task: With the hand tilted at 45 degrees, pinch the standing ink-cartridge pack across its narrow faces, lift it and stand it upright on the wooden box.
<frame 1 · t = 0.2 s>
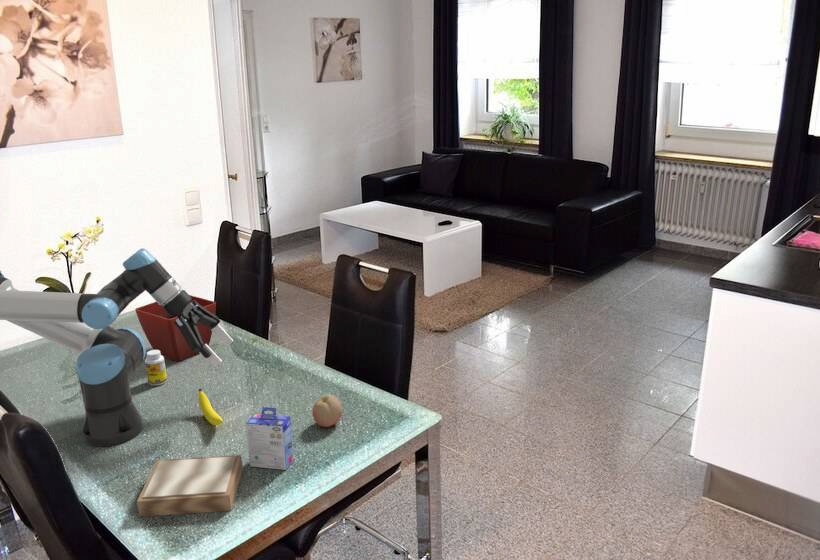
hand: (224, 353, 196), 16 cm above the table, tool tilted 35°, fingers open, 13 cm apart
fruit: (328, 424, 188), on the table
supplement bottle: (158, 382, 216), on the table
banana: (212, 422, 191), on the table
ink cartridge box: (272, 463, 172), on the table
plant pot: (182, 351, 238), on the table
wooden box: (193, 491, 161), on the table
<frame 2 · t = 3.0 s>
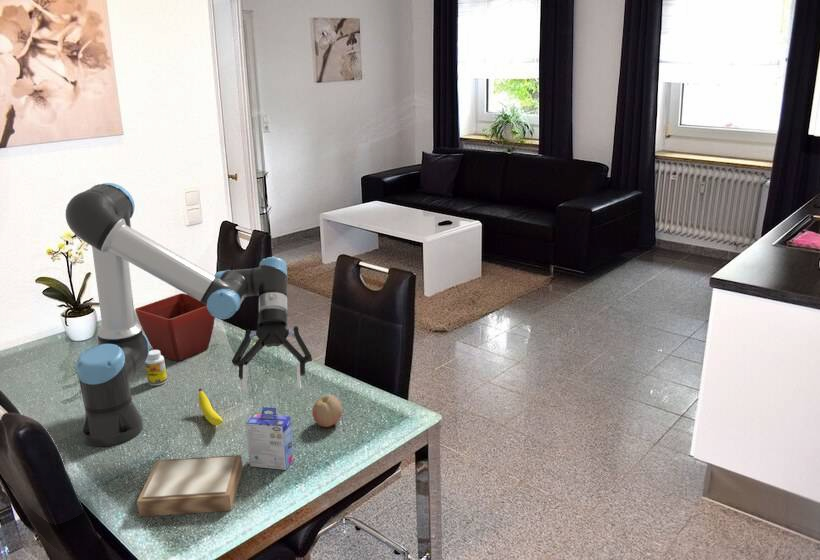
hand: (272, 389, 176), 15 cm above the table, tool tilted 45°, fingers open, 13 cm apart
nothing on the table moved.
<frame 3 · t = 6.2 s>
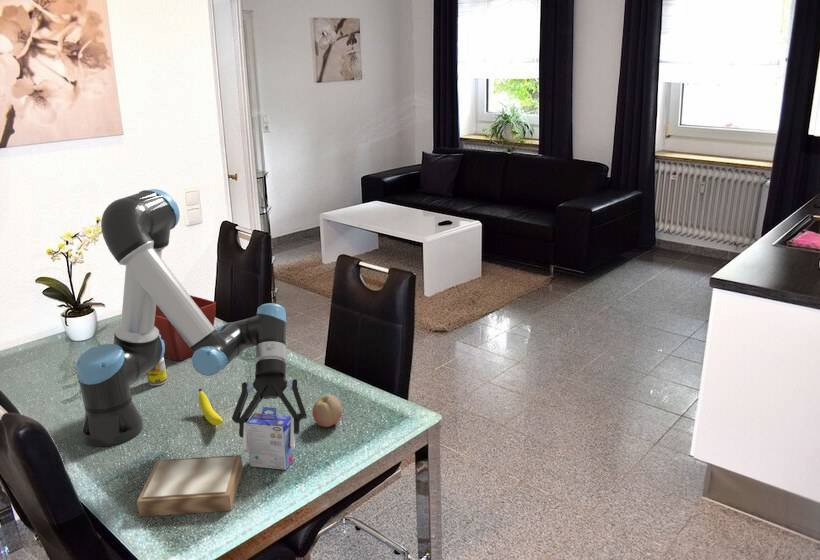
hand: (269, 449, 167), 6 cm above the table, tool tilted 45°, fingers closed on ink cartridge box, 11 cm apart
ink cartridge box: (272, 463, 172), on the table, touching gripper
everything else where it was.
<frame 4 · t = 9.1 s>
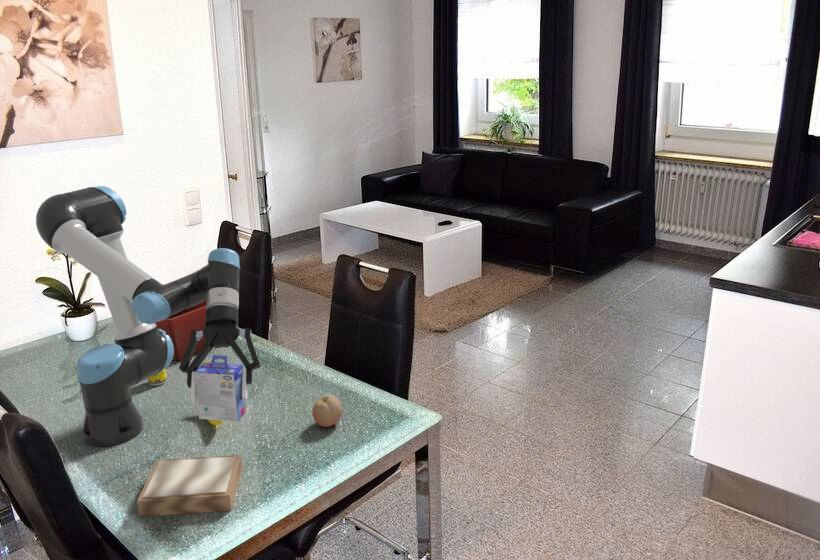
hand: (219, 399, 156), 22 cm above the table, tool tilted 45°, fingers closed on ink cartridge box, 11 cm apart
ink cartridge box: (223, 416, 161), point 16 cm above the table, touching gripper
everything else where it was.
when the fingers open (11 cm above the table, at t = 12.5 s): ink cartridge box moves 1 cm, resting on wooden box.
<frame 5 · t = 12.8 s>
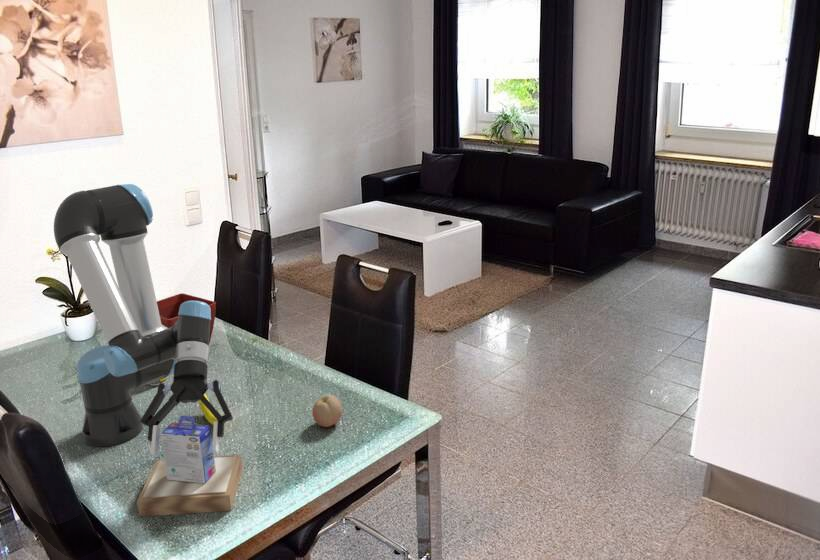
hand: (184, 453, 155), 12 cm above the table, tool tilted 45°, fingers open, 13 cm apart
ink cartridge box: (192, 476, 160), point 4 cm above the table, touching wooden box
everything else where it was.
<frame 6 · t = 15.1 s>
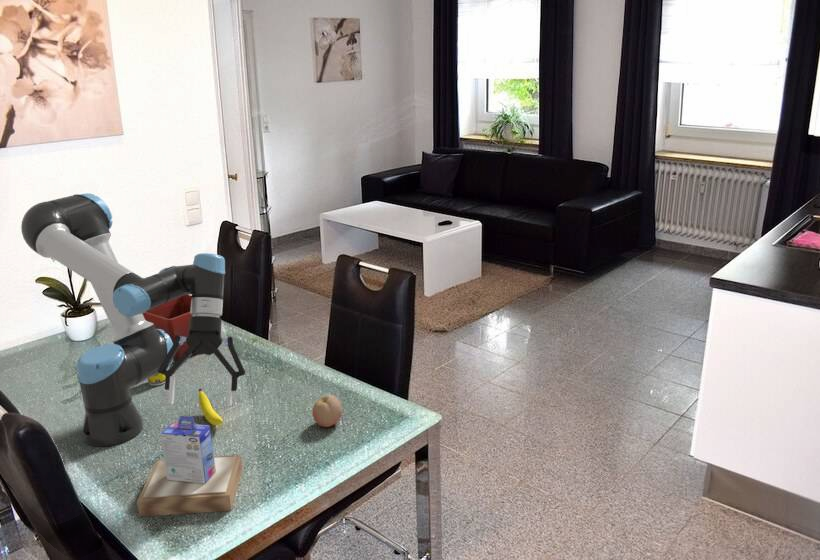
hand: (200, 404, 167), 16 cm above the table, tool tilted 30°, fingers open, 13 cm apart
nothing on the table moved.
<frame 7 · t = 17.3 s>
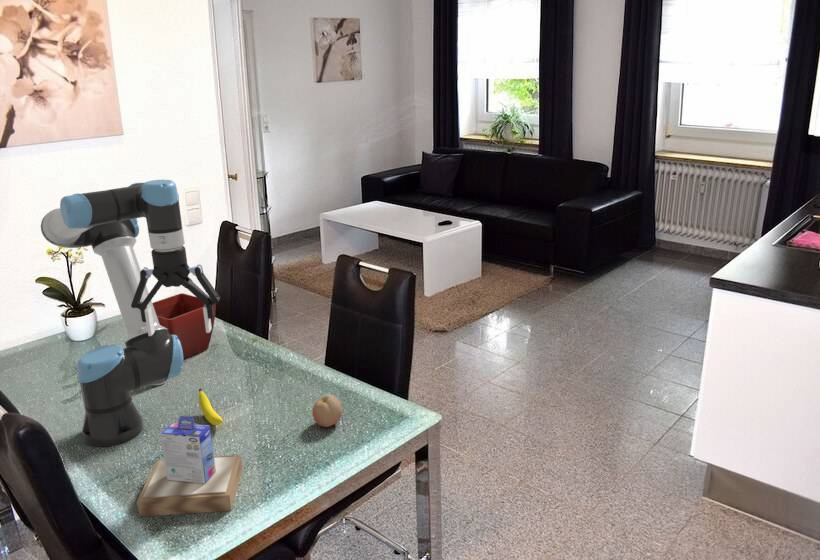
hand: (180, 332, 168), 33 cm above the table, tool pointing down, fingers open, 13 cm apart
nothing on the table moved.
at the end: ink cartridge box inside the target area on the wooden box (0.2 cm from its centre), point 4.1 cm above the wooden box's base; ink cartridge box tilted 0°; the gripper is holding nothing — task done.
